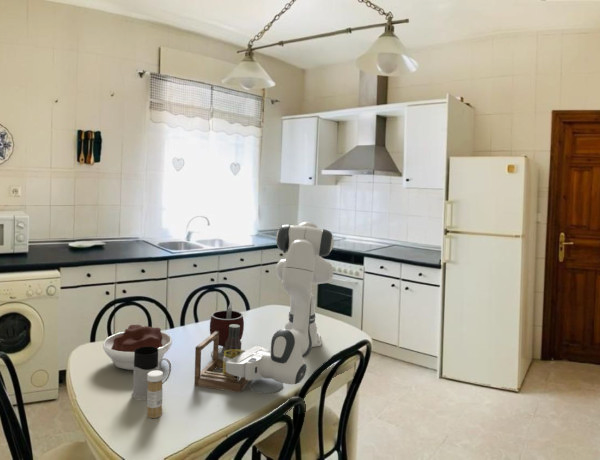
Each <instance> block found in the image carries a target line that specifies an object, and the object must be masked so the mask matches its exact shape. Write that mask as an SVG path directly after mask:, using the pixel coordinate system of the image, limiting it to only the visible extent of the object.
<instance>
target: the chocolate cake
mask: <svg viewBox="0 0 600 460" xmlns="http://www.w3.org/2000/svg"><path fill="white" fill-rule="evenodd" d="M172 344H173V339H172V337H171V336H170V335H169V333H166V332H164V331H162V329H161V328H160V327H158V326H157V327H151V326H147V325H144V326H142V325H141V324H130V325H129V326H128V328H125V330H124V331H122V332H118V333H115V334H112V335H110V336H108V337H107V338H106V339H104V341H103V343H102V350H103V351H104V353H105V355H106V356H107V357H108V358H110V359H111V361H112V363H113V365H114V366H115V367H117V368H120V369H124V370H127V371H128V370H131V371H132V370H133V371H134V351H135V350H136V349H138V348H141V347H155V348H157V349H158V364H159V362H160V360H161V359H163V358H164V356H165V355H166V353H167V352H168V351H169V350H170V348H171V347H172Z"/></svg>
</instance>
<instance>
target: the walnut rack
mask: <svg viewBox="0 0 600 460" xmlns="http://www.w3.org/2000/svg"><path fill="white" fill-rule="evenodd" d="M213 340H214V341H213ZM211 343H213V345H212V346H213V349H212V351H213V357H212V360H211V361H210V362H209V363H208V364H207V365H206V366H205V367H204V368H203V369H201V368H202V367H201V365H202V351H203V349H204V348H206V347H207V346H208V345H210V344H211ZM219 348H220V347H219V332H218V331H215V332H214V333H212V334H211V335H209V336H208V337H206V338H205V339H204V340H202V341H201V342H200V343H199V344H198V345H196V346H195V348H194V349H195V353H194V354H195V356H194V384H193V385H194V386H195V387H202V388H206V389H207V388H209V389H214V390H215V389H216V390H223V391H228V392H234V393H241V392H242V391H243V389H245V386H247V384H249V383H250V380H246V379H245V377H240V379H238V382H236V381H229V380H222V379H216V378H209V377H202V376H203V373H206V371H210V372H215V370H216V369H222V370H223V360H222V359H218V349H219Z"/></svg>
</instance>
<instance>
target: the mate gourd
mask: <svg viewBox="0 0 600 460" xmlns="http://www.w3.org/2000/svg"><path fill="white" fill-rule="evenodd" d="M232 305H233V302H230V303H229V305H228V306H227V309H225V310H217V311H214V312H212V313H211V317H210V322H209V334H210V335H211V334H212V333H214V332H215V331H218V332H219V346H220V347H218V359H222V360H223V357H224V350H225V342H226V341H227V339H228V337H229V325H231V324H237V325H240V330H239V339H240V341H241V340H242V338H243V336H244V335H243V334H244V330H245V328H244V327H245V322H244V321H245V320H244V314H243V313H242V312H240V311H236V310H233V306H232ZM210 335H209V336H210ZM212 342H214V340H213V341H212ZM210 357H211V358H213V350H212V351H211V352H210Z"/></svg>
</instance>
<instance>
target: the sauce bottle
mask: <svg viewBox="0 0 600 460" xmlns="http://www.w3.org/2000/svg"><path fill="white" fill-rule="evenodd" d="M239 330H240V325H237V324H231V325H229V337H228V339H227V341H226V342H225V350H224V356H229V358H230V359H231V358H234V357H236V356H238V355H240V354H241V350H242V341H241V340H240V339H239ZM225 365H226V362H223V369H222V372H221V373H223V374H228V373H227V372H226V371H225ZM230 375H231V374H230ZM235 378H238V379H239V377H237V376H235Z"/></svg>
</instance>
